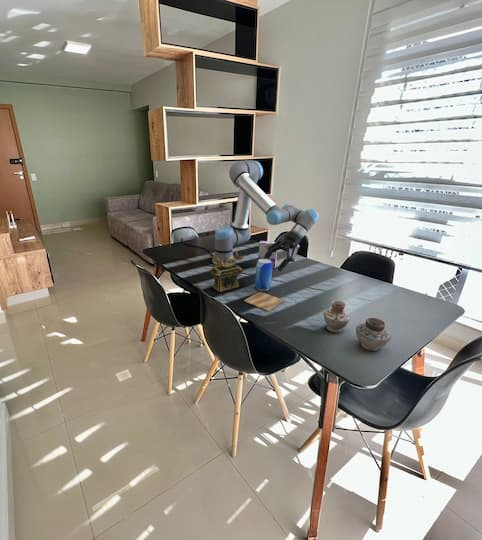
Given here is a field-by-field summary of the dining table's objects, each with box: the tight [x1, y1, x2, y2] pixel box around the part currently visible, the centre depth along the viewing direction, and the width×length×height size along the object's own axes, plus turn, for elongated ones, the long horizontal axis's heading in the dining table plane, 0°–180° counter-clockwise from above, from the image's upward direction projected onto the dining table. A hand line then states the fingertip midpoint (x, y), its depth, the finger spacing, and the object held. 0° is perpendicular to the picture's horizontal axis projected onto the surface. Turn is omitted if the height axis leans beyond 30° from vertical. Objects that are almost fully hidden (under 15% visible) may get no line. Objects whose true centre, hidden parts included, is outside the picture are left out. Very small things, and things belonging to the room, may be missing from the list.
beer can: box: [254, 259, 273, 292], centre depth 153 cm, size 8×8×16 cm
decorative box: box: [208, 250, 246, 292], centre depth 156 cm, size 20×10×20 cm, turn 117°
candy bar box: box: [257, 240, 278, 269], centre depth 183 cm, size 11×5×16 cm, turn 68°
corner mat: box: [243, 291, 285, 312], centre depth 142 cm, size 14×14×1 cm
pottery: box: [323, 300, 392, 351], centre depth 111 cm, size 11×25×12 cm, turn 36°
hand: (270, 265), depth 153 cm, fingers open, 13 cm apart
